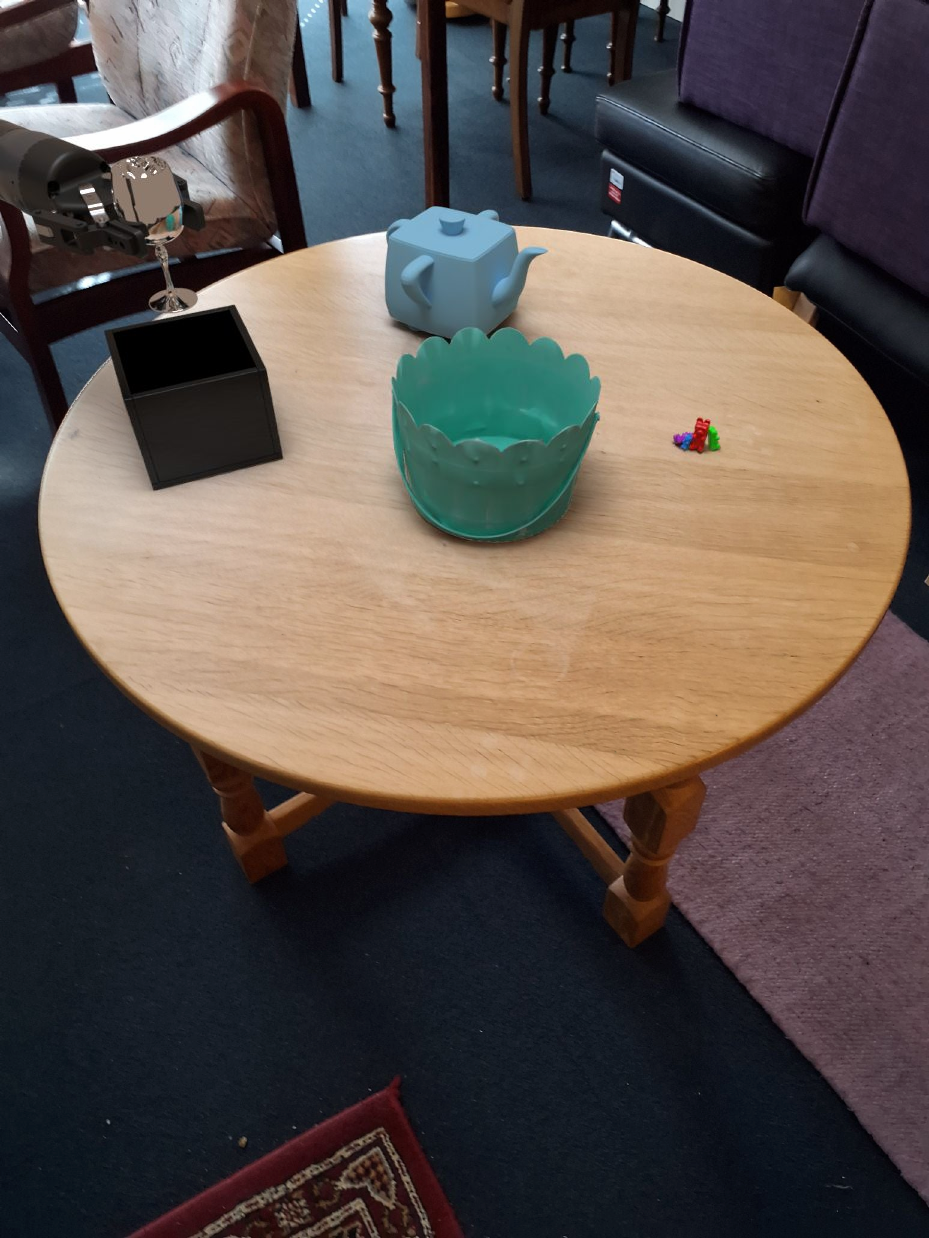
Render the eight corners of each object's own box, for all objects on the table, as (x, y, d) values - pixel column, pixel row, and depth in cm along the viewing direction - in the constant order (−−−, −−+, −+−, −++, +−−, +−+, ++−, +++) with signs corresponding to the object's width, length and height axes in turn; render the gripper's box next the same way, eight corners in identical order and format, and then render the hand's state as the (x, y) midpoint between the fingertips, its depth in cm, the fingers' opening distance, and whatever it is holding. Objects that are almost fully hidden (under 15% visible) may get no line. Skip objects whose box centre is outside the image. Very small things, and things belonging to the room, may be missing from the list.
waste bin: (153, 490, 91) (123, 400, 83) (132, 418, 100) (103, 330, 92) (283, 458, 95) (266, 369, 87) (252, 391, 103) (234, 304, 95)
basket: (612, 467, 93) (629, 357, 84) (538, 576, 83) (547, 464, 73) (452, 416, 99) (450, 309, 90) (363, 512, 89) (351, 401, 79)
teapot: (392, 360, 107) (384, 251, 97) (383, 293, 118) (375, 188, 108) (541, 350, 109) (549, 241, 99) (519, 284, 120) (524, 180, 110)
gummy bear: (669, 447, 96) (674, 419, 93) (676, 433, 97) (682, 406, 95) (715, 459, 94) (722, 432, 92) (721, 445, 96) (728, 418, 93)
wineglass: (129, 309, 82) (88, 174, 73) (165, 281, 86) (131, 149, 77) (182, 322, 81) (147, 186, 72) (217, 292, 84) (188, 159, 75)
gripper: (-32, 164, 77) (90, 218, 70) (105, 115, 85) (227, 160, 78) (1, 249, 83) (117, 306, 76) (127, 196, 90) (242, 244, 84)
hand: (172, 232), depth 77 cm, fingers closed on wineglass, 5 cm apart
